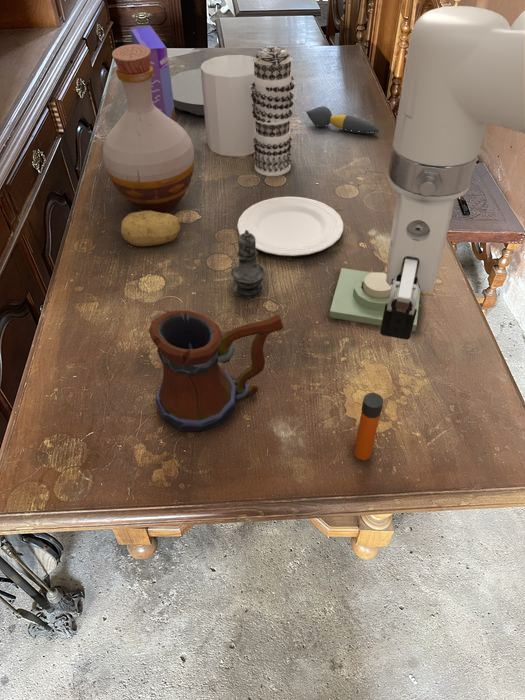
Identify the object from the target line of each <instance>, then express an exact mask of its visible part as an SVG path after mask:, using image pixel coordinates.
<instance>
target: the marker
mask: <svg viewBox="0 0 525 700" xmlns="http://www.w3.org/2000/svg"><path fill="white" fill-rule="evenodd" d="M383 405H384V398H383V397H382V396H381V395H380V394H379V393H376V392H368V393H366V394H365V395H364V396H363V400H362V406H361V412H360V418H359V423H358V429H357V433H356V439H355V446H354V449H353V454H354V456H355V457H356V459H358V460H361V461H362V460H363V461H365V460H366V461H367V460H368V459H370V458H371V456H372V451H373V448H374V442H375V438H376V434H377V429H378V427H379V421H380V417H381V414H382V410H383Z"/></svg>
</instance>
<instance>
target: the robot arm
mask: <svg viewBox="0 0 525 700" xmlns="http://www.w3.org/2000/svg"><path fill="white" fill-rule="evenodd" d="M399 97H400V98H399V104H398V110H397V117H396V121H395V127H394V135H393V142H392V147H391V153H390V159H389V165H388V171H387V182H388V184H389V186H390V187H391V189H393V190H394V191H395V192H396V193H397V195H396V201H395V205H394V207H395V208H394V212H393V218H392V225H391V231H390V232H391V233H390V239H389V248H388V255H387V256H388V257H387V268H386V274H387V277H386V282H387V283H388V284H389V285H390V286H391V284H392V287H391V291H390V296H389V301H388V304H385V309H384V314H383V319H382V325H381V326H380V331H379V333H380V335H381V336H385V337H390V338H396V339H400V340H410V338H411V336H412V332H413V331H412V328H413V324H414V320H415V316H416V312H417V309H415V307H416V302H417V297H418V293H419V289H421V290H420V292H425V293H427V294H428V293H431V292H432V291H433V290H434V289H435V285H436V282H437V277H438V273H439V269H440V264H441V260H442V258H443V257H442V256H443V252H444V249H445V245H446V242H447V241H446V240H447V237H448V232H449V230H450V229H449V228H450V225H451V221H452V215H453V212H454V211H453V210H454V207H455V200H457V199H459V198H461V197H463V196H465V195H466V194H467V193H468V192H469V189H470V187H471V183H472V180H473V176H474V172H475V170H476V169H475V168H476V165H477V161H478V158H479V154H480V151H481V147H482V143H483V140H484V136H485V133H486V129H487V125H488V124H490V125H494V126H497V127H501V128H504V129H507V130H511V131H514V132H517V133H522V134H525V10H523V11H522V12H521V13H520V15H519V16H518V17H516V19H515V20H514V21H513V22H512V25H510V24H509V21H508V20H507V19H506V18H505V17H504V16H503V15H502V14H500V13H497V12H495V11H493V10H490V9H486V8H483V7H477V6H470V5H469V6H467V5H449V6H441V7H437V8H433V9H430V10H428V11H426V12H424V13H423V14H422V15H421V16H420V17H419V18H418V19H417V20H416V21H415V23H414V25H413V27H412V30H411V33H410V37H409V42H408V48H407V55H406V60H405V66H404V73H403V79H402V85H401V91H400V96H399ZM397 287H399V292H398V296H397V299H395V300H394V297H395V292H396V288H397ZM412 290H413V294H412V299H411V301H410V298H411V293H412Z"/></svg>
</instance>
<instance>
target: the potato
mask: <svg viewBox="0 0 525 700" xmlns="http://www.w3.org/2000/svg"><path fill="white" fill-rule="evenodd" d="M180 230H181V224H180V221H179V219H178V217H177V216H175V215H173V214H171V213H167V212H166V213H160V212H155V211H141V210H140V211H135V212H131V213H128V214H127V215H126V216H125V217H124V218H123V219H122V220H121V226H120V233H121V235H122V238H123V239H124V240H125V241H126V242H128V243H129V244H130V245H131V246H135V247H153V246H158V245H164V244H167V243H170V242H173V241H174V240H175V239H176V238H177V237H178V234H179V232H180Z"/></svg>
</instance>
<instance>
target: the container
mask: <svg viewBox="0 0 525 700" xmlns="http://www.w3.org/2000/svg"><path fill="white" fill-rule="evenodd" d="M253 57H254V56H250V55H244V54H226V55H220V56H213V57H211V58H209V59H207V60H205V61H204V60H203V62H202V64H201V65H200V67H199V68H200V70H201V80H202V91H203V102H204V113H205V115H204V123H205V134H206V145H207V147H208V148H209V150H210V151H211V152H214V153H216V154H217V155H220V156H227V157H243V156H249V155H252V154H254V152H255V150H254V144H255V143H254V140H253V139H254V138H255V129H256V125H255V122H256V121H255V120H254V117H253V113H252V111H253V107H252V104H253V100H252V97H251V94H252V90H251V86H252V83H253V82H254V78H253V74H254V61H253V59H252V58H253ZM254 89H255V88H254ZM254 96H255V94H254ZM255 106H256V105H255Z"/></svg>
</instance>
